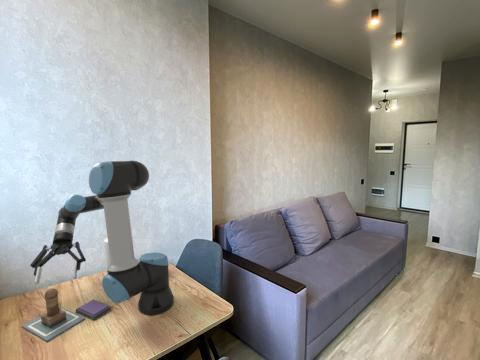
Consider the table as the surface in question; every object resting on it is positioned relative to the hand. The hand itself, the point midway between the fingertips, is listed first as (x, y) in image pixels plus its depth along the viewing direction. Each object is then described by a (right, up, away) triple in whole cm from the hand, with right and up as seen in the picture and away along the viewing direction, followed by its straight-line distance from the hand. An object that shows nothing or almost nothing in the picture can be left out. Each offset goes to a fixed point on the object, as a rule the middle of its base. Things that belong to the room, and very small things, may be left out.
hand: (55, 280), depth 109 cm
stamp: (+3, -15, -5) cm, 16 cm away
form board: (+3, -15, -5) cm, 16 cm away
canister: (+9, -10, +38) cm, 41 cm away
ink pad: (+14, -14, +3) cm, 20 cm away
